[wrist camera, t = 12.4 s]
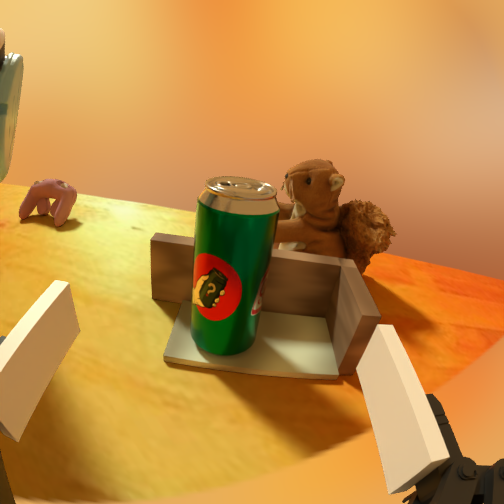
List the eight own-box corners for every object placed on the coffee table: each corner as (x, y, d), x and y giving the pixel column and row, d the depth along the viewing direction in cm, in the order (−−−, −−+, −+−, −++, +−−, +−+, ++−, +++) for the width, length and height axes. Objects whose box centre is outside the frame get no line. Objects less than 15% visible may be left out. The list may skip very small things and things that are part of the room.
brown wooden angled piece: (126, 352, 21) (116, 287, 18) (156, 289, 29) (155, 232, 26) (354, 380, 22) (383, 321, 19) (335, 312, 29) (352, 259, 27)
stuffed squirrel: (260, 244, 41) (277, 145, 35) (361, 262, 41) (388, 170, 35) (252, 284, 32) (273, 157, 26) (378, 305, 32) (418, 190, 26)
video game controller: (74, 229, 41) (84, 183, 41) (57, 227, 36) (67, 177, 36) (32, 220, 41) (41, 179, 41) (15, 218, 37) (24, 173, 37)
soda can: (260, 359, 22) (294, 201, 17) (191, 361, 21) (200, 194, 15) (248, 316, 26) (271, 178, 21) (188, 317, 25) (197, 172, 20)
